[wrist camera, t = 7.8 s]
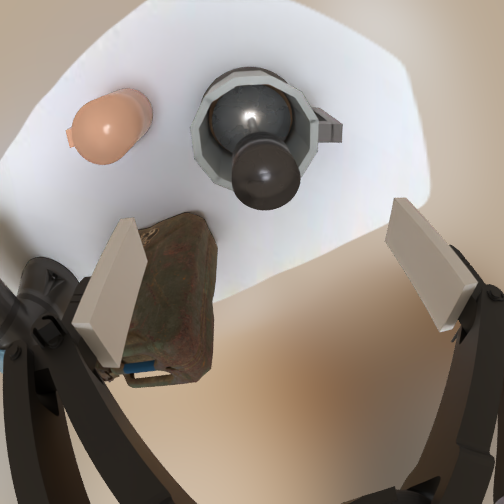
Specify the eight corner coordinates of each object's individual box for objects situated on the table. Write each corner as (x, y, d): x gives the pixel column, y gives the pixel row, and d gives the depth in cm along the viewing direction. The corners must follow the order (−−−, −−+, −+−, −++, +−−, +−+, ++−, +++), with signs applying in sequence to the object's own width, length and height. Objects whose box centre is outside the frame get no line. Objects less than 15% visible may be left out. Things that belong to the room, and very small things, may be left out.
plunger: (216, 158, 36) (204, 244, 21) (208, 86, 30) (184, 117, 16) (290, 153, 36) (330, 235, 22) (288, 82, 30) (339, 109, 16)
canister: (202, 204, 45) (181, 342, 25) (221, 246, 50) (218, 383, 30) (105, 240, 48) (51, 361, 28) (129, 274, 53) (93, 394, 33)
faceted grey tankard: (206, 160, 41) (196, 203, 31) (196, 71, 33) (178, 78, 23) (312, 153, 41) (340, 194, 31) (313, 66, 33) (347, 72, 23)
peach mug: (97, 148, 38) (70, 172, 31) (86, 98, 33) (55, 112, 26) (156, 137, 38) (138, 158, 31) (148, 83, 33) (126, 91, 26)
